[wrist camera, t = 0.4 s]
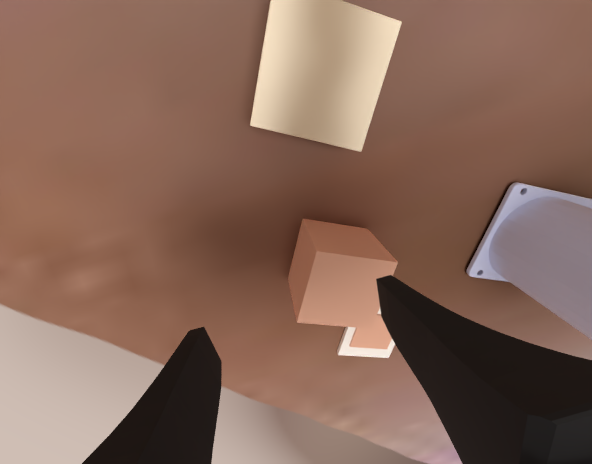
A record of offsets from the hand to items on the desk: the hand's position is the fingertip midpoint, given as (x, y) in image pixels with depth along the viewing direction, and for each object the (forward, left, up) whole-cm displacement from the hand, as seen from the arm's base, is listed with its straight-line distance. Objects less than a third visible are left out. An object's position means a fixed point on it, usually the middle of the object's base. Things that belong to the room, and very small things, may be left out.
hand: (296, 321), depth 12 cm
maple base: (0, -9, -10) cm, 14 cm away
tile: (-10, +8, -10) cm, 16 cm away
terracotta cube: (-4, +2, -10) cm, 10 cm away
